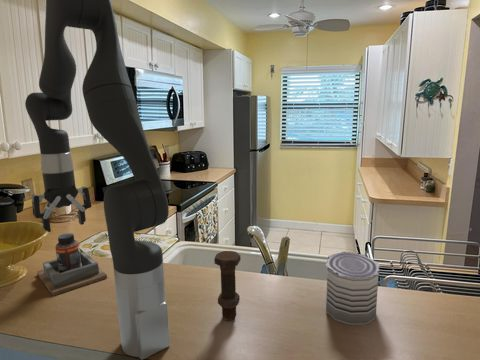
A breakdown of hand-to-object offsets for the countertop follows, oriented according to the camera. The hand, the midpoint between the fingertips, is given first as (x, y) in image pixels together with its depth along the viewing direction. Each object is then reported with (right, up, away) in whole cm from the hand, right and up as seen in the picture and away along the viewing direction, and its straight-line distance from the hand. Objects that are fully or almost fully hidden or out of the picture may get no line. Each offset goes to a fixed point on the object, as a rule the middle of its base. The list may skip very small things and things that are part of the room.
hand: (65, 227), depth 99 cm
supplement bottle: (0, -14, +3) cm, 14 cm away
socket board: (0, -14, +3) cm, 15 cm away
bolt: (+46, -18, -18) cm, 52 cm away
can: (+73, -17, -16) cm, 77 cm away
